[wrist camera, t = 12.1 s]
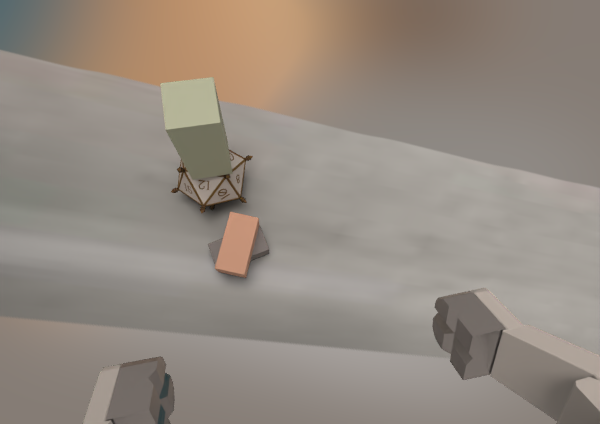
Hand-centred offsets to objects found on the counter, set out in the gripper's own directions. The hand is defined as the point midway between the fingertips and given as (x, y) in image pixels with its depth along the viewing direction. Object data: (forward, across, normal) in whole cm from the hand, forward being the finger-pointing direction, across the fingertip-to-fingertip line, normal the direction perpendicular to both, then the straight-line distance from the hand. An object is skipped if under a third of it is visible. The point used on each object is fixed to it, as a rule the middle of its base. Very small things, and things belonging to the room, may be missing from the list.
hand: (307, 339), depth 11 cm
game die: (+35, +5, +10) cm, 36 cm away
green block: (+29, +4, +4) cm, 30 cm away
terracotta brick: (+26, +3, +14) cm, 30 cm away
